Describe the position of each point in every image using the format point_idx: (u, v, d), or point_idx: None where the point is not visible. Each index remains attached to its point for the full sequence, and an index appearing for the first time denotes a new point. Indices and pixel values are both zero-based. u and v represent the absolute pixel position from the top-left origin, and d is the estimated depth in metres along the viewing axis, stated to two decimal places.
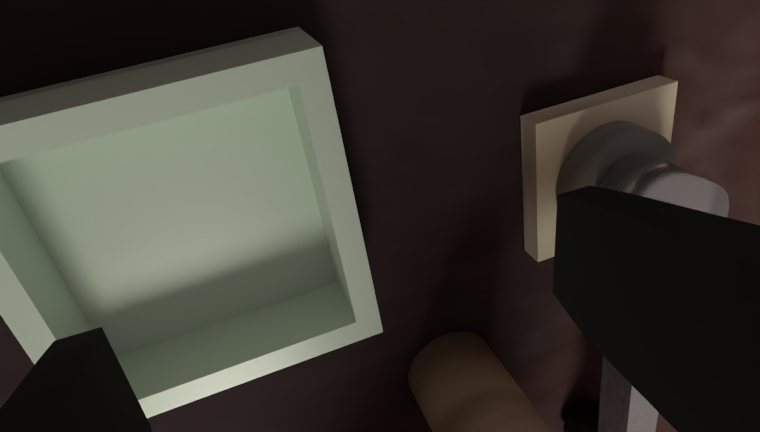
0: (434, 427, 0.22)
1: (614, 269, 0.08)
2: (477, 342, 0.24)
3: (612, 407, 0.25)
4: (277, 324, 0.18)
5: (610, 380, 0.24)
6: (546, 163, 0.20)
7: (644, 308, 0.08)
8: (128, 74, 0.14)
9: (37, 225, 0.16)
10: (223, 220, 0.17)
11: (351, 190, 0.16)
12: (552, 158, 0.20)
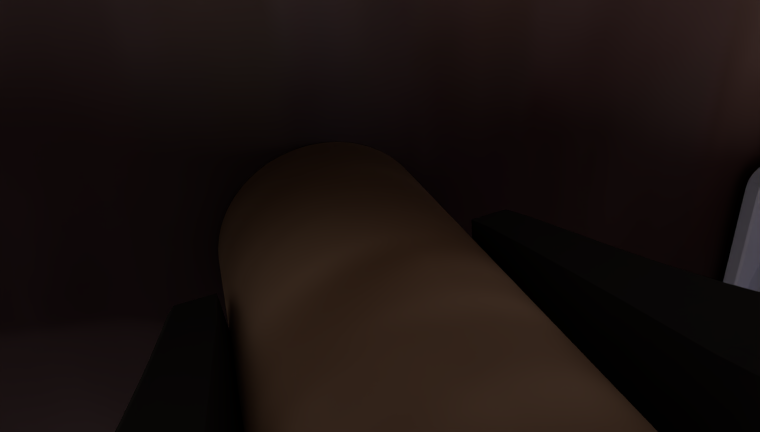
0: None
1: None
2: (230, 231, 0.09)
3: None
4: None
5: None
6: None
7: None
8: None
9: None
10: None
11: None
12: None
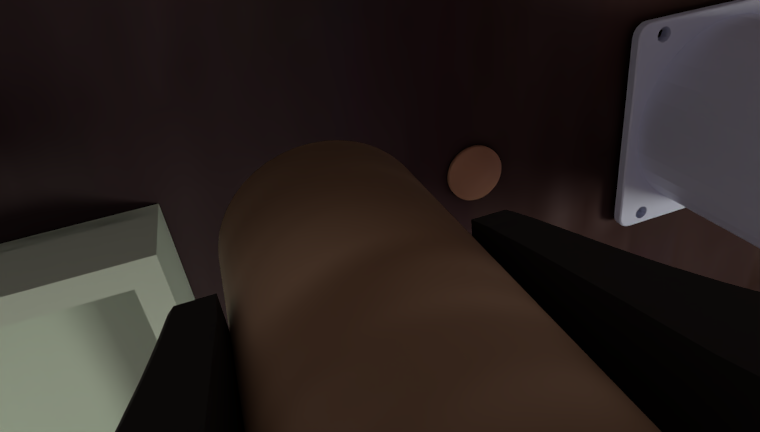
0: None
1: None
2: (230, 229, 0.09)
3: None
4: None
5: None
6: None
7: None
8: None
9: None
10: (45, 359, 0.17)
11: None
12: None
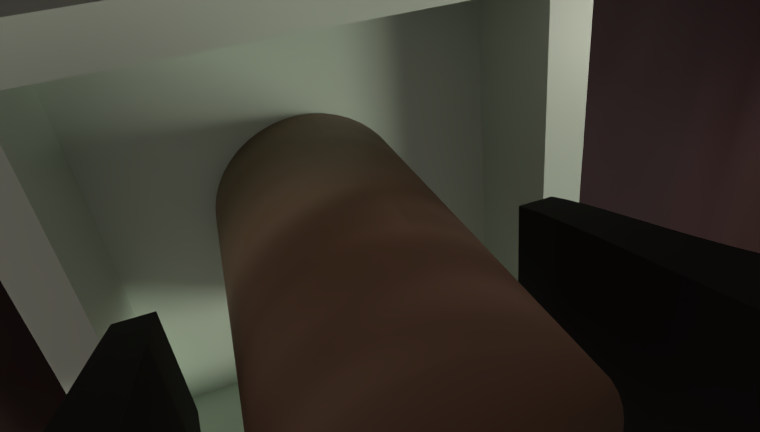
0: None
1: (573, 283, 0.08)
2: (225, 189, 0.10)
3: None
4: (510, 113, 0.11)
5: None
6: None
7: (601, 324, 0.08)
8: None
9: None
10: None
11: None
12: None
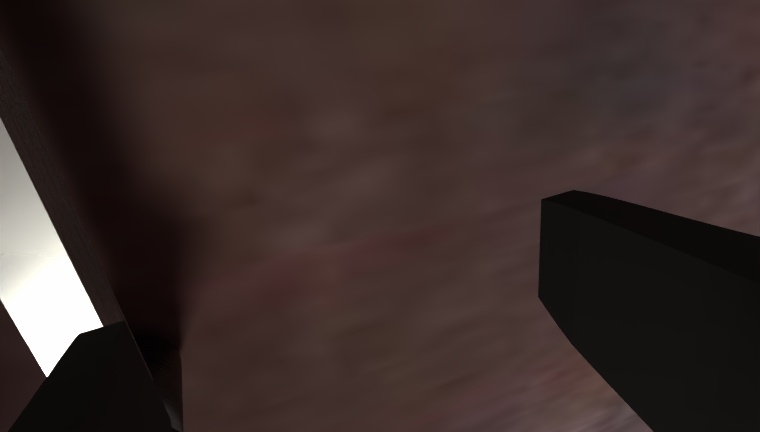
0: None
1: (597, 274, 0.08)
2: None
3: None
4: None
5: None
6: None
7: (626, 314, 0.08)
8: None
9: None
10: None
11: None
12: None
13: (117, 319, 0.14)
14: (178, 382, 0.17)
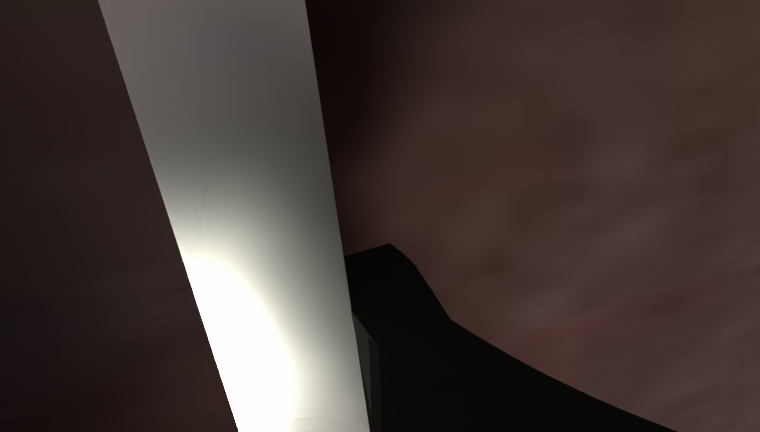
0: None
1: None
2: None
3: None
4: None
5: None
6: None
7: None
8: None
9: None
10: None
11: None
12: None
13: None
14: None
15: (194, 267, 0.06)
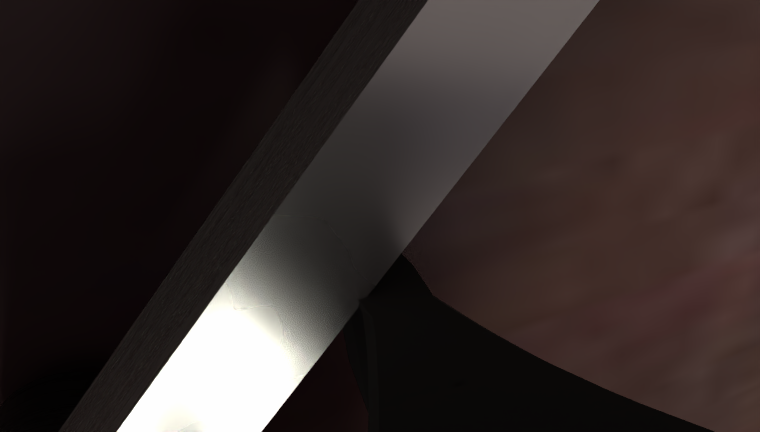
0: None
1: (365, 352, 0.07)
2: None
3: (160, 319, 0.07)
4: None
5: (223, 218, 0.07)
6: None
7: None
8: None
9: None
10: None
11: None
12: None
13: None
14: None
15: (438, 1, 0.05)
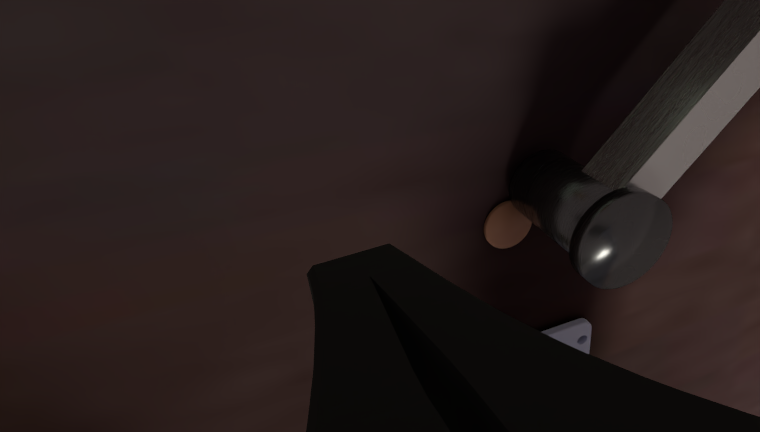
0: None
1: None
2: None
3: (676, 88, 0.17)
4: None
5: (704, 46, 0.17)
6: None
7: None
8: None
9: None
10: None
11: None
12: None
13: None
14: None
15: None
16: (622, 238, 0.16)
